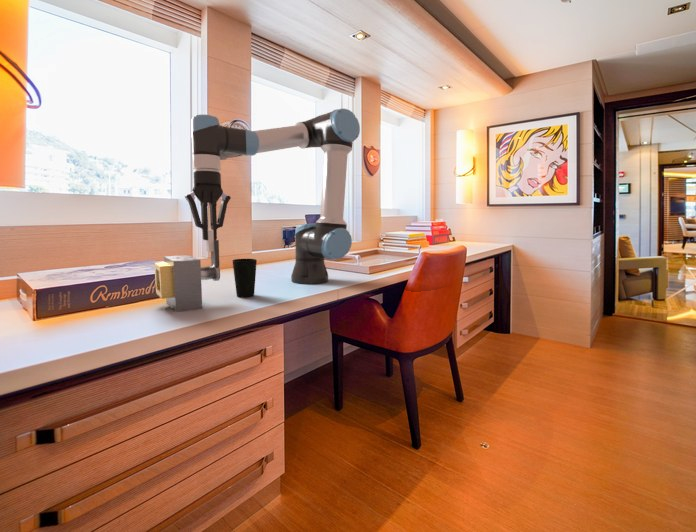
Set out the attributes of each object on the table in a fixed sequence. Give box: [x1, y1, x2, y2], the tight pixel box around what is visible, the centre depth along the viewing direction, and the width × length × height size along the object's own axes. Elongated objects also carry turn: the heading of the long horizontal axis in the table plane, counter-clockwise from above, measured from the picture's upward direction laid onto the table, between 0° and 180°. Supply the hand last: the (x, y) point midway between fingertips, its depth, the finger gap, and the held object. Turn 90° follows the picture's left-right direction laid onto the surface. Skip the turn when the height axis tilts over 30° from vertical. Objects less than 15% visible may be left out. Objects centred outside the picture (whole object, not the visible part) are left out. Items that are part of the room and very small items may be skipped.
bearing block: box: [163, 254, 203, 313], centre depth 110 cm, size 7×14×14 cm, turn 35°
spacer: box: [154, 261, 173, 300], centre depth 107 cm, size 3×9×9 cm, turn 36°
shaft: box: [158, 239, 221, 283], centre depth 110 cm, size 16×5×13 cm, turn 125°
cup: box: [232, 258, 258, 299], centre depth 123 cm, size 8×8×12 cm
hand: (210, 250), depth 113 cm, fingers closed
